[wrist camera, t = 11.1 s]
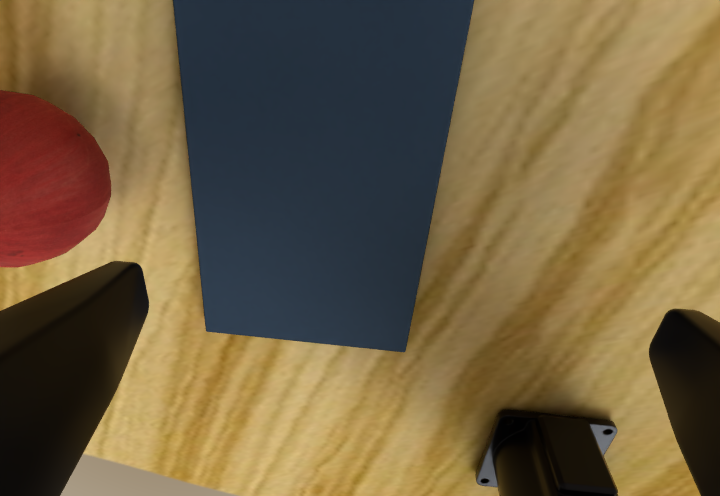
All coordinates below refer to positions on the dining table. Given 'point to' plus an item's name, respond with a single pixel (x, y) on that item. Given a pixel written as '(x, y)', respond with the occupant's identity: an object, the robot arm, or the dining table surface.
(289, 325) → the mat
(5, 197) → the onion
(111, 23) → the dining table surface
